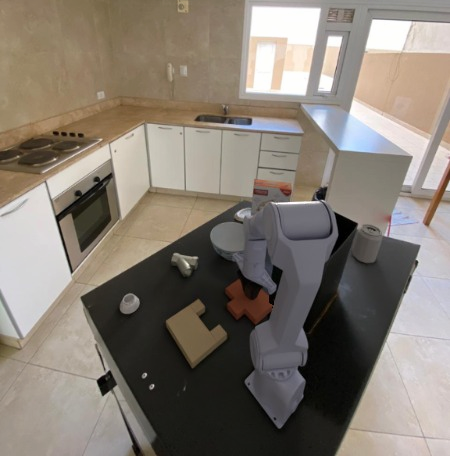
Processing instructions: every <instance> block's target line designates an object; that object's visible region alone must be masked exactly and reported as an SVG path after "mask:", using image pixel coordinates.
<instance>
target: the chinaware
mask: <svg viewBox="0 0 450 456" xmlns="http://www.w3.org/2000/svg"><path fill="white" fill-rule="evenodd" d="M209 234H210V235H209V237H210V242H211V245H212V247H213V249H214V250H215V252H216V253H217V254H218V255H219V256H221V258H222V257H223V258H224V259H225V260H227V261H232V255H233V254H235V253H237V252H238V253H239V254H241V255H244V243H245V236H244V232H243V223H241V222H235V221H226V222H221V223H219V224H217V225H215V226H214V227H213V228H212V229H211V231H210V233H209Z"/></svg>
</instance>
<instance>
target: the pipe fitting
mask: <svg viewBox="0 0 450 456" xmlns="http://www.w3.org/2000/svg"><path fill="white" fill-rule="evenodd" d="M170 261H171V262H170V264H171V266H172V267H173V266H174V267H177V268H178V270H179V271H180V273H181V275H182V276H183V277H184V278H188V277H189V278H190V277H191V275H192V273H193V270H194V271H196V270H197V268H198V264H199V257H198V256H189V255H185V254H180V253H178V252H174V253H173V254H172V257H171V260H170Z"/></svg>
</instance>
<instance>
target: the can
mask: <svg viewBox="0 0 450 456" xmlns="http://www.w3.org/2000/svg"><path fill="white" fill-rule="evenodd" d="M382 232H383V231H382V230H381V229H380V228H379V227H378V226H376V225H373V224H371V223H363V224H361V226H360V227H358V228H357V232H356V236H355V239H354V242H353V247H352V250H351V253H352V255H353V256H354V257H355V259H356V260H358V261H359V262H361V263H365V264H372V263H374V262H376V260H377V257H378V255H379V251H380V247H381V245H382V241H383V239H384V235H383V233H382Z"/></svg>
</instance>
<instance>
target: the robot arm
mask: <svg viewBox="0 0 450 456" xmlns="http://www.w3.org/2000/svg"><path fill="white" fill-rule="evenodd" d="M242 220H243V221H242V224H243V232H244V236H245V243H244V255H241V254H239V253H238V252H237V253H235V254H233V255H232V260H231V261H232V262H234V263H236V265H237V266H238V268H239V269H237V270H236V275H237V277H238V279H240V281H241V284H242V288H243V292H244V293H245V285H246V284H248V283H249V282H250V281H251V282H250V283H249V286H250V290H251V294H250V297H251V300H254V299H255V298H257V296H258V294H259V292H260V290H261V289H262V290H263V287H264V288H266V289H267V294H268V295H269V296H270V295H273V294H274V293H275V292H276V295H275V298H274V305H273V308H272V311H271V312H270V315H269V319H268V320H266V321H264V322H262V323H260V324H257V325H255V327H254V329H252V330H251V332H250V334H249V351H250V357H251V362H252V365H253V368H254V369H253V371H252V372H251V373H250V374H249V375H248V376H247V377H246V378H245V379H244V385H245V386H246V388H247V389H248V390H249V392H250V393H251V395H253V397H254V398H255V399H256V401H257V403H258V404H259V405H260V406H261V408H262V409H263V410H264V411H265V413H266V414H267V415H268V417H269V418H270V419H271V421H272V422H273V424H274V425H275V426H276V428H277V429H282V427H283V426H284V425H285V423H286V422H287V421H288V420H289V418H290V416H291V415H292V414H293V413H294V412H295V411H296V410H297V408H298V406H299V404H300V403H301V401H302V400H303V399H304V390H305V386H306V383H307V382H306V379H305V378H304V377H303V376H302V374H301V372H300V371H299V370H298V368H299V366H300V367H305V366H306V364H307V360H308V349H309V342H308V339H307V335H306V332H305V330H304V324H305V322H306V319H307V317H308V316H309V313H310V310H311V308H312V306H313V303H314V301H315V298H316V296H317V294H318V291H319V289H320V287H321V284H322V279H323V274H324V269H325V264H326V262H328V261H329V259H330V256H331V254H332V251H333V249H334V247H335V245H336V242H337V240H338V237H339V229H338V223H337V219H336V215H335V211H334V210H333V207H331V205H330V204H329V202H328V201H326V200H324V199H317V200H313V201H312V200H311V201H310V200H309V201H308V200H307V201H306V200H305V201H290V202H277V203H274V202H267V203H266V204H265V206H264V207H261V208H260V211H259V212H256V213H255V215H253V216H251V215H248V214H244V216H243V219H242ZM267 254H268V257H269V258H270V264H271V265H273V266H275V267H276V268H278V269H280V270H282V273H281V276H280V281H279V284H278V287H277V284H276V283H275V282H274V281H273V279H272V277H271V275H269V273H268V271H267V270H266V269H265V267H266V256H267Z"/></svg>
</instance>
